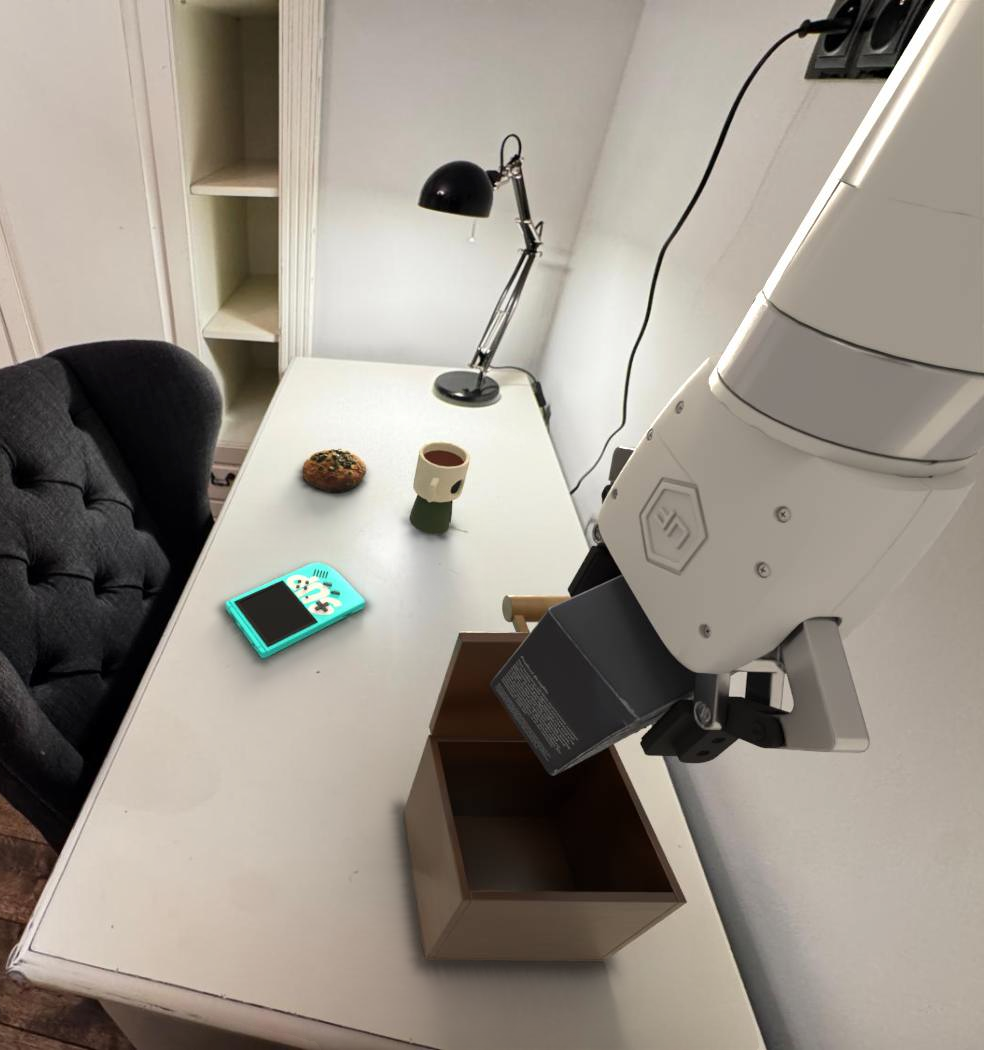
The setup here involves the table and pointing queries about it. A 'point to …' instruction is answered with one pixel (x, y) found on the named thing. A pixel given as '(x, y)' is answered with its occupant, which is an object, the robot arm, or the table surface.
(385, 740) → the table surface
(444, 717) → the lid
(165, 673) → the table surface
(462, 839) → the brown wooden box
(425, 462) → the character mug
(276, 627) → the handheld game console
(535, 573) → the table surface
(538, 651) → the small box
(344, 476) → the bread roll
